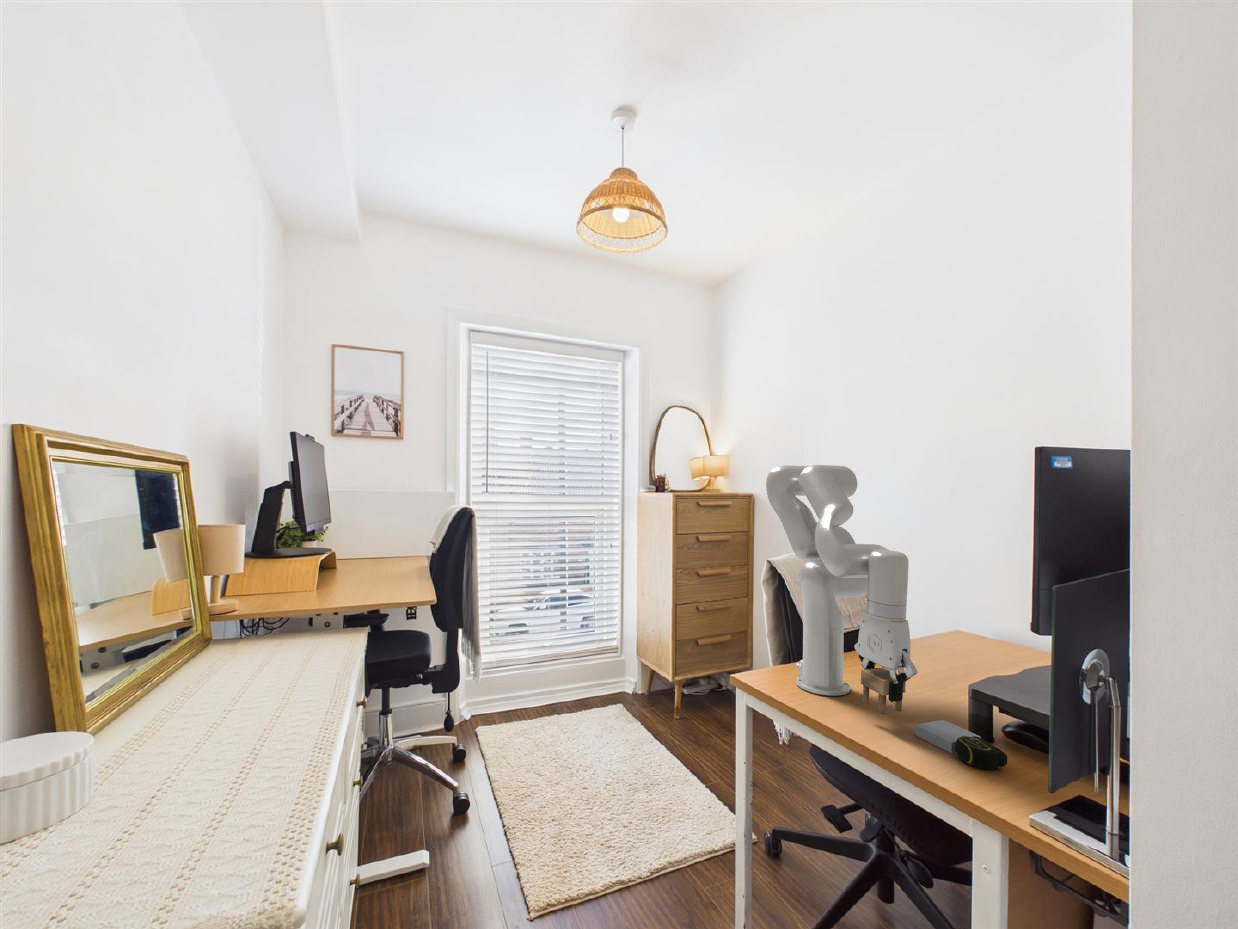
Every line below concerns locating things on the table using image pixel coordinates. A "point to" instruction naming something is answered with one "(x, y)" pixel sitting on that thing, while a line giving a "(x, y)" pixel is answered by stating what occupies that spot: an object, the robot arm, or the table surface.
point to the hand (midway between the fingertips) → (882, 693)
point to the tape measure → (979, 753)
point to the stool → (878, 686)
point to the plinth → (941, 734)
